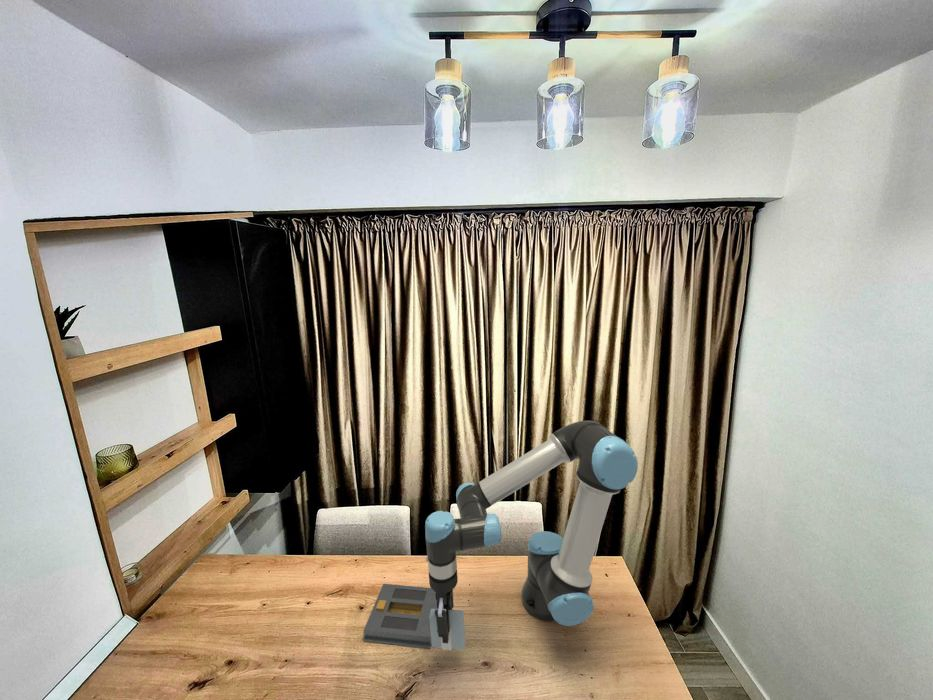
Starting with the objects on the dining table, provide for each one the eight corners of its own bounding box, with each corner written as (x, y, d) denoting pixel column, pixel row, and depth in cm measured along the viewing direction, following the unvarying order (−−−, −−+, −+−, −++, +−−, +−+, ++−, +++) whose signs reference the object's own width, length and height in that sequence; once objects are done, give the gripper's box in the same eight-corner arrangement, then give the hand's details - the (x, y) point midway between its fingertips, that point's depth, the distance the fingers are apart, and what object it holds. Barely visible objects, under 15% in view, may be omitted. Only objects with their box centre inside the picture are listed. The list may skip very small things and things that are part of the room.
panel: (465, 640, 102) (463, 610, 100) (464, 649, 100) (462, 619, 98) (433, 638, 103) (431, 608, 101) (431, 647, 101) (429, 616, 99)
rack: (442, 595, 123) (441, 585, 122) (430, 648, 105) (429, 637, 105) (384, 590, 125) (383, 580, 125) (363, 641, 108) (362, 630, 107)
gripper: (434, 547, 105) (440, 616, 109) (421, 594, 90) (428, 671, 94) (460, 548, 104) (464, 618, 108) (451, 596, 89) (457, 674, 93)
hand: (447, 642), depth 101 cm, fingers closed on panel, 2 cm apart
